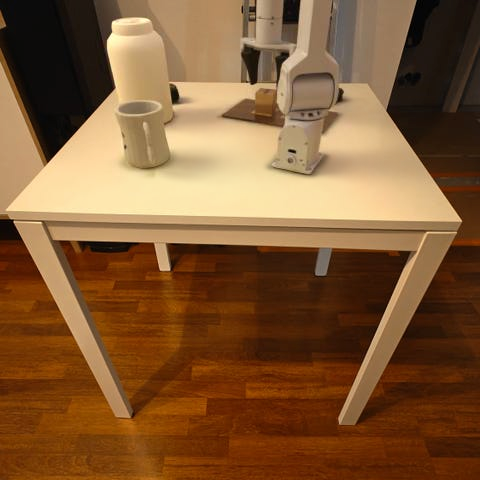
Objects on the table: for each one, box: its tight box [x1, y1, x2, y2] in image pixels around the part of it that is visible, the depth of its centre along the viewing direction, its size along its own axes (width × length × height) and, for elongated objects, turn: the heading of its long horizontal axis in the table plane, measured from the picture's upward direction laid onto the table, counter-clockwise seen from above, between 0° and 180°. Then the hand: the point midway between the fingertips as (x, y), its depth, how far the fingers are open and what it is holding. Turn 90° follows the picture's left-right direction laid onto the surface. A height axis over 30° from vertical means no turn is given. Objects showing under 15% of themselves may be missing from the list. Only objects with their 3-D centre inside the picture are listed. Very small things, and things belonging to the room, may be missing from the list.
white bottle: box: [106, 17, 174, 124], centre depth 83 cm, size 12×12×20 cm
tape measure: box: [169, 82, 181, 102], centre depth 98 cm, size 7×7×4 cm
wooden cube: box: [254, 87, 278, 115], centre depth 90 cm, size 4×4×5 cm
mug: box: [114, 100, 171, 169], centre depth 69 cm, size 12×9×10 cm
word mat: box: [221, 98, 339, 133], centre depth 91 cm, size 14×26×1 cm, turn 64°
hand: (266, 86), depth 88 cm, fingers open, 7 cm apart
